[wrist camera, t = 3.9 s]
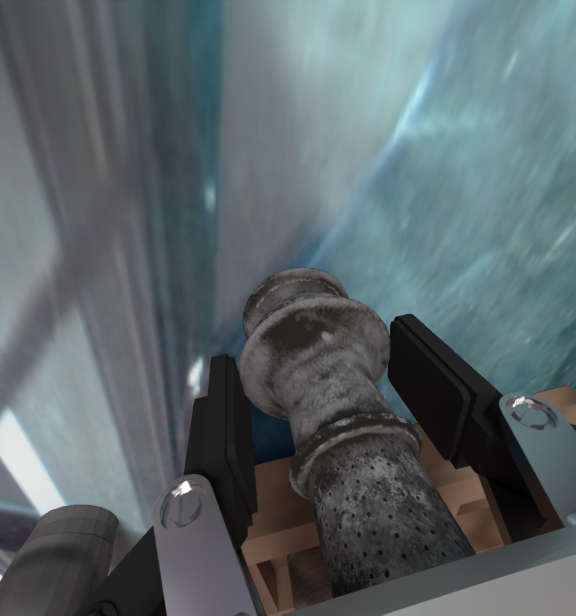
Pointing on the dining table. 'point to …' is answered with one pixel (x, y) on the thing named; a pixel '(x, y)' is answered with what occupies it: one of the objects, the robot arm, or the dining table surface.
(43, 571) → the beverage cup
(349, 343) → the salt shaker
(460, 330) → the dining table surface
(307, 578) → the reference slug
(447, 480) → the compartment tray
